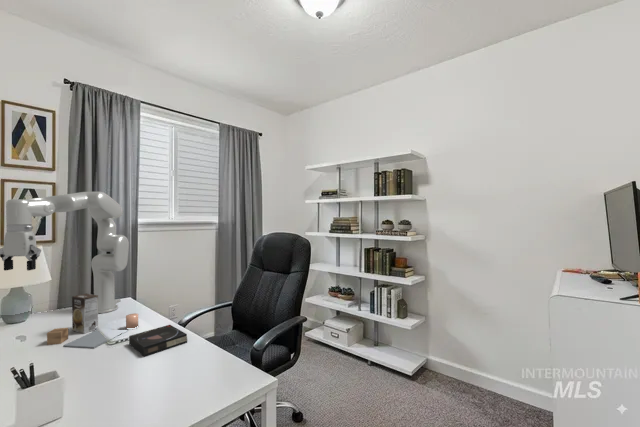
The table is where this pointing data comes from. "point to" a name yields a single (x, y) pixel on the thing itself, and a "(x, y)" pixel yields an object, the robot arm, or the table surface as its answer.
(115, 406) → the table surface
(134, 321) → the terracotta cylinder
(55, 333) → the walnut block
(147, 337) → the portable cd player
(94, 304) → the coffee box
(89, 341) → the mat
